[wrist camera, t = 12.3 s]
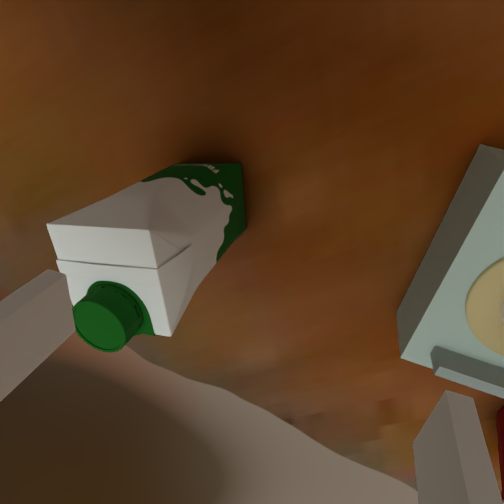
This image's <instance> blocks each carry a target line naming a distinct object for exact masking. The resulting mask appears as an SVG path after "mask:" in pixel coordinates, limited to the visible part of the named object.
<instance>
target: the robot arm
mask: <svg viewBox="0 0 504 504" xmlns="http://www.w3.org/2000/svg"><path fill="white" fill-rule="evenodd" d="M74 331H76V328H75V323H74V317H73V311H72V305H71V300H70V294H69V288H68V283H67V277H66V274H63V273H60V272H56V271H53V270H50V269H47V270H46V271H44V272H43V273H41V274H40V275H38V276H37V277H35V278H34V279H33V280H31V281H30V282H28V283H27V284H25V285H24V286H22V287H21V288H19V289H18V290H16V291H15V292H13V293H12V294H10V295H9V296H7V297H6V298H4V299H3V300H2V301H0V402H1V401H2V400H3V399H4V398H5V397H6V396H7V395H8V394H9V393H10V392H11V391H12V390H13V389H14V388H15V387H16V386H17V385H19V384H20V383H21V382H22V381H23V380H24V379H25V378H26V377H27V376H28V375H29V374H30V373H31V372H32V371H33V370H34V369H35V368H36V367H38V366H39V365H40V364H41V363H42V362H43V361H44V360H45V359H46V358H47V357H48V356H49V355H50V354H51V353H52V352H53V351H54V350H56V348H58V347H59V346H60V345H61V344H62V343H63V342H64V341H65V340H66V339H67V338H68V337H69V336H70V335H71V334H72V333H74ZM413 449H414V460H415V470H416V480H417V491H418V501H419V504H503V502H502V499H501V495H500V492H499V488H498V485H497V481H496V478H495V474H494V470H493V467H492V463H491V460H490V456H489V453H488V449H487V446H486V442H485V438H484V435H483V431H482V428H481V424H480V421H479V417H478V414H477V410H476V407H475V403H474V399H473V398H471V397H468V396H465V395H461V394H458V393H455V392H451V391H448V390H445V392H444V393H443V395H442V397H441V398H440V400H439V401H438V403H437V405H436V406H435V408H434V410H433V411H432V413H431V414H430V416H429V418H428V419H427V421H426V423H425V424H424V426H423V427H422V429H421V431H420V432H419V434H418V435H417V437H416V439H415V440H414V442H413Z"/></svg>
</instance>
